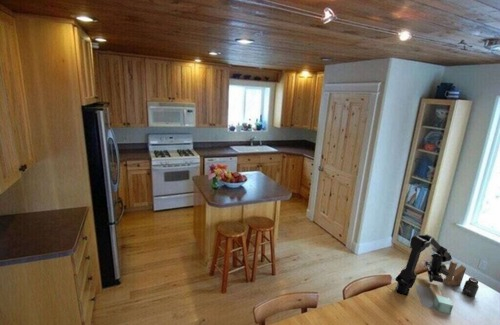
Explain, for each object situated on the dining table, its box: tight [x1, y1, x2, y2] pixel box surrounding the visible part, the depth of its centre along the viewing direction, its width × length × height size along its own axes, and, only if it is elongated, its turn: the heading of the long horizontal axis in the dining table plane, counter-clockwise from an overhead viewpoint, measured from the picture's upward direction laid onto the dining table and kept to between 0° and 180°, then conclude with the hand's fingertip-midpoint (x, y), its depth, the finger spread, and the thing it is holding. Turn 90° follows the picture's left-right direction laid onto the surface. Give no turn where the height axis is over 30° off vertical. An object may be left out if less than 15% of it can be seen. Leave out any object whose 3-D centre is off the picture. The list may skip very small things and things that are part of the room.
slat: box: [429, 283, 444, 299], centre depth 170 cm, size 4×14×4 cm, turn 161°
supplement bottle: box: [461, 276, 480, 299], centre depth 173 cm, size 7×7×12 cm
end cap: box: [434, 295, 454, 315], centre depth 160 cm, size 7×6×6 cm
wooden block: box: [442, 260, 467, 286], centre depth 182 cm, size 4×11×18 cm, turn 97°
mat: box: [413, 283, 437, 311], centre depth 169 cm, size 15×21×1 cm
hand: (430, 281), depth 182 cm, fingers closed
